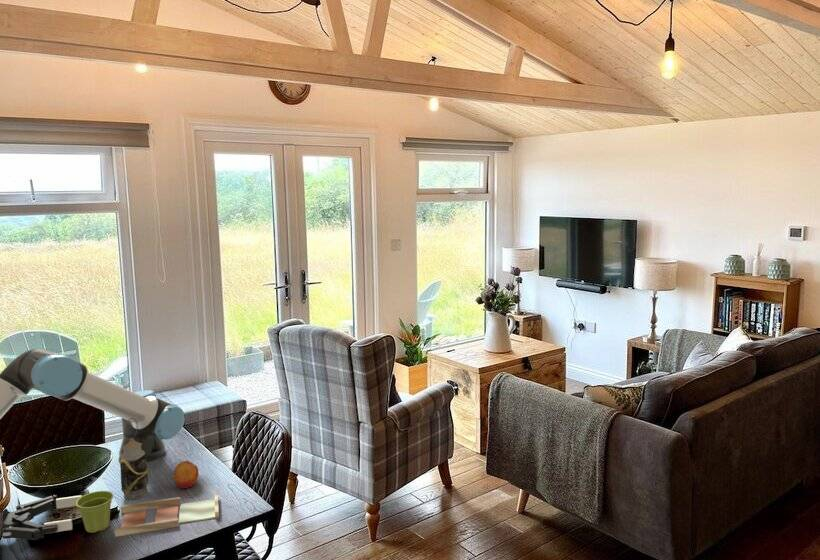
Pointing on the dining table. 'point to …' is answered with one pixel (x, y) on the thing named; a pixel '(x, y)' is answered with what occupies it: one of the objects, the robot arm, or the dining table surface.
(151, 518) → the dining table surface
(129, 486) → the lantern
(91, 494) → the plant pot
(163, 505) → the trap box
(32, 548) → the dining table surface
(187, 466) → the fruit
